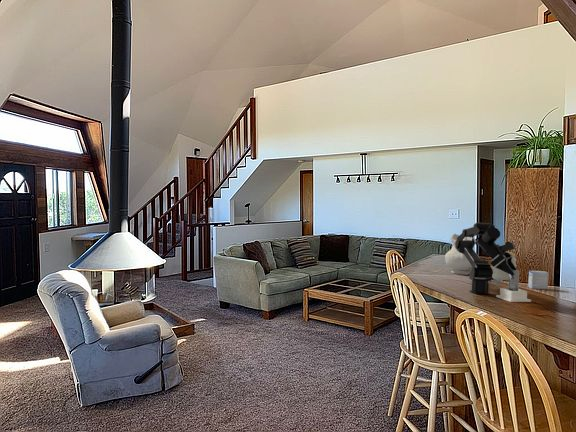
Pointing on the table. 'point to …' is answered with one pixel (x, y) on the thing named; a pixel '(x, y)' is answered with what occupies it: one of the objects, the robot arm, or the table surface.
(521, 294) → the socket
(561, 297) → the table surface
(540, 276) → the medicine box
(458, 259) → the ceramic pitcher
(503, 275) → the jar
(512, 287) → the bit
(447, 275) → the table surface
